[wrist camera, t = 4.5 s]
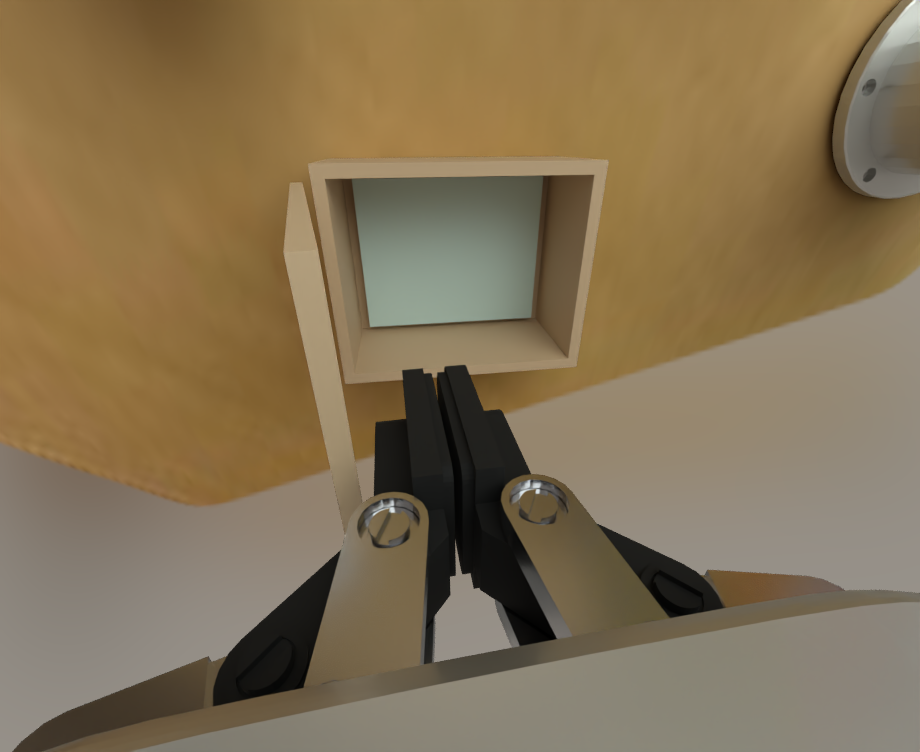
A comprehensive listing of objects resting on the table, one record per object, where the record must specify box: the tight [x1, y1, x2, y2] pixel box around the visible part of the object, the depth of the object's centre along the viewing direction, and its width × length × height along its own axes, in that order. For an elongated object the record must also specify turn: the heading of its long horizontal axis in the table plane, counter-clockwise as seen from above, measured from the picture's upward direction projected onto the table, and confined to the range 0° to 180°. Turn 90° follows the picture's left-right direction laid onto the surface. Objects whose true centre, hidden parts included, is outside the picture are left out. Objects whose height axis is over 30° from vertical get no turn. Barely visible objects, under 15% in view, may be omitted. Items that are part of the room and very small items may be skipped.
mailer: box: [308, 156, 609, 384], centre depth 24 cm, size 14×11×7 cm
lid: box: [283, 182, 362, 534], centre depth 14 cm, size 14×10×1 cm
